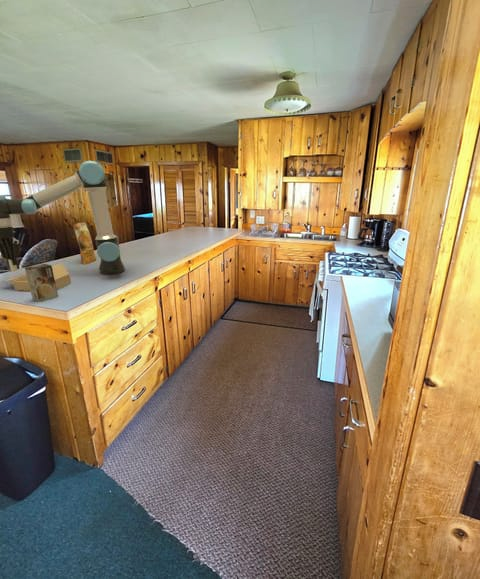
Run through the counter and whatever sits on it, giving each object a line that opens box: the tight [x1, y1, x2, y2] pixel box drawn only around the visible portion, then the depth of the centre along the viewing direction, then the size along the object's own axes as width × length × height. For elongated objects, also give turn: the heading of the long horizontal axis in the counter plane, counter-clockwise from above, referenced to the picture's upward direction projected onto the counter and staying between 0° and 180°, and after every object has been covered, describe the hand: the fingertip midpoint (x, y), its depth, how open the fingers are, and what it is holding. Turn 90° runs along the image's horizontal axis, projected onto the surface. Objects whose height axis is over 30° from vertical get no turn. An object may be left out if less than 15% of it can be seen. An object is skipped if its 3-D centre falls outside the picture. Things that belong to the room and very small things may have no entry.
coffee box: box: [24, 263, 59, 302], centre depth 141 cm, size 9×6×16 cm
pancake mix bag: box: [72, 221, 97, 265], centre depth 209 cm, size 7×19×28 cm, turn 176°
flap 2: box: [52, 262, 70, 280], centre depth 156 cm, size 1×14×7 cm, turn 172°
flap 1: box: [0, 273, 27, 283], centre depth 159 cm, size 1×14×7 cm
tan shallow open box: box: [12, 273, 72, 292], centre depth 159 cm, size 21×16×5 cm
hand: (14, 270), depth 158 cm, fingers closed
